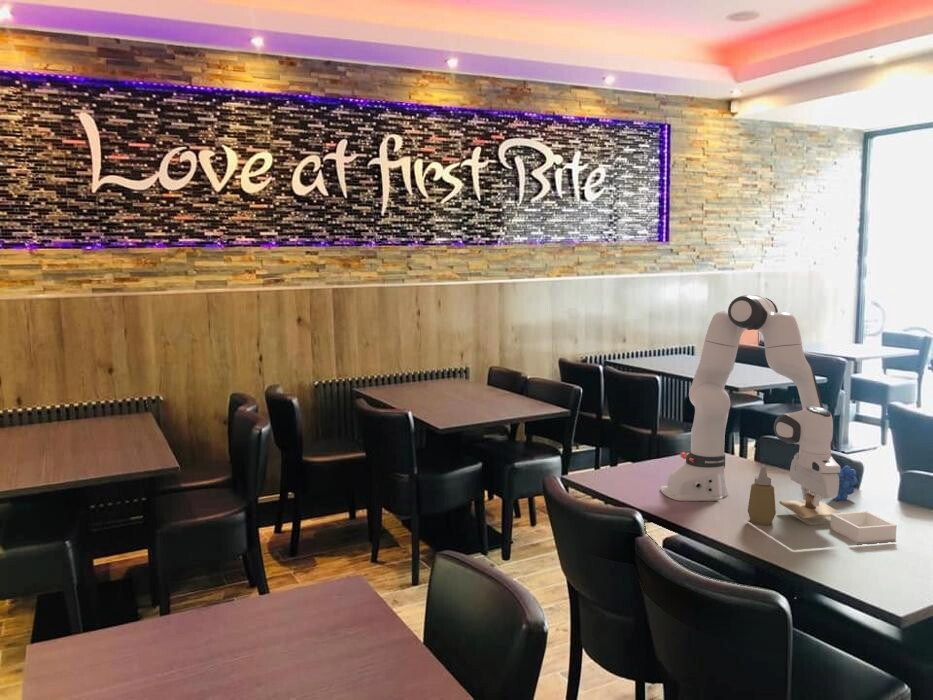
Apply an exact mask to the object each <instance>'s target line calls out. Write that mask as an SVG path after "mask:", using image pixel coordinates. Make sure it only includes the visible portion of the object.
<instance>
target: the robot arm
mask: <svg viewBox="0 0 933 700" xmlns="http://www.w3.org/2000/svg"><path fill="white" fill-rule="evenodd" d="M709 322H710V323H709V325H708V327H707V331H706V334H705V336H704V337H705V338H704V342H703V346H702V351H701V355H700V358H699V359H700V360H699V363H698V366H697V369H696V371H695V374H694V377H693V380H692V382H691V385H690V386H689V387H690V388H689V390H688V391H689V392H688V397H689V401H690V403H691V404H692V406H694V415H693V416H694V417H693V423H692V426H691V431H690V432H691V435H690V451H689V452H688V453H685V451H683V452H682V451H681V453H680V457H681V458H682V459H683V460H685V461H684V463H682V464H681V465H680V466H678V467H677V468H676V469H674V470H673V471H672V472H670V474H669V475H668V479H667V485H661V487H660V491H661V493H662V494H663V495H664V496H665V497H668V498H670V499H672V500H675V501H679V502H681V501H683V502H686V501H687V502H688V501H689V502H690V501H692V502H693V501H694V502H695V501H696V502H697V501H705V502H706V501H709V502H711V501H713V502H714V501H715V502H717V501H720V500H723V498H725V497H727V496H728V494H729V493H728V489H727V483H726V478H725V468H726V453H725V442H726V441H725V439H726V438H725V435H726V428H727V423H728V417H729V413H730V409H731V405H732V404H731V398H730V395H729V393H728V392H727V391H726V390H725V387H726V384H727V382H728V379H729V377H730V375H731V374H732V372H733V369H734V367H735V364H736V363H735V362H736V358H737V353H738V350H739V345H740V340H741V337H742V335H743V333H744V332H745V331H746V330H748V331H752V330H753V331H759V332H760V333H761V334H762V337H763V343H764V352H765V353H764V354H765V359H766V362H767V365H768V367H769V368H770V369H771V370H772V371H773V372H774V373H776V374H778V375H780V376H782V377H786V378H787V379H789V380H790V381H792V382H793V384H794V385H795V386H796V388H797V391H798V395H799V398H800V399H799V400H800V404H801V407H802V409H801V410H798V411H794V412H787V413H782V414H779V415H778V416H777V417H776V419H775V421H774V424H773V431H774V434H775V436H776V438H777V439H778V440H779V441H781V442H782V443H785V444H797V445H799V450H798V452H796V453H795V454H794V455H793V459H792V460H791V464H790V470H789V478H790V480H791V481H793V482H795V483H797V484H798V485H800V486H801V487H800V489H801V492H802V500H805V501H806V494H807V493H810V491H812V493H813V494H814V495H815V496H814V499H811V504H812V505H814V506H819V502H820V501H821V500H822V498H824V499H827V500H828V499H832V498H836V497H837V495H838V490H839V476H838V474H837V473H840V470H841V469H842V468H841V465H840V464H839V463H837V461H836V460H835V459H834V457H833V456H832V448H831V446H830V444H831V441H833V434H834V422H833V421H834V420H833V416H832V413H831V412H830V411H829V410H827V408H824V407H823V406H824V405H823V402H822V399H821V395H820V390H819V387H818V382H817V379H816V376H815V372H814V370H813V367H812V366H811V364H810V363H809V362H808V360H807V359H806V356H805V353H804V349H803V342H802V336H801V332H800V328H799V324H798V322H797V320H796V317H795V316H794V315H793V314H791V313H788V312H783V311H782V312H781V311H780V312H779V311H778V307H777V305H776V303H775V302H774V301H772V300H771V299H769V298H767V297H764V296H760V295H749V294H746V295H745V294H744V295H741V296H738V297H736V298H734V299H733V300H732V301H731V302H730V304H729V306H728V309H727V310H720V311H717V312H716V313H715V314H713V315H712V318H711V320H710V321H709ZM831 445H832V444H831Z"/></svg>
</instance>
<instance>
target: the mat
mask: <svg viewBox="0 0 933 700" xmlns="http://www.w3.org/2000/svg"><path fill="white" fill-rule="evenodd" d="M788 515H791V516H792V517H794V518H796V519H798V520H800V521H801V522H803V523H805V524H807V525H808V526H815V525H817V526H818V525H826V524H829V525H830V524H831V517H813V518H802V517H801V516H799V515H798V514H796V513H794V512H793V511H791V512H788Z"/></svg>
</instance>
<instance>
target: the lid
mask: <svg viewBox="0 0 933 700" xmlns="http://www.w3.org/2000/svg"><path fill="white" fill-rule="evenodd" d="M814 496H815V495H814V493H813V492H812V493H810V492H809V493H807V494H806V501H805V500H803V499H800V500H798V499H796V500H794V499H793V500H779V504H780V505H781V506H783V507H785V508H786V509H788V510H789V511H791V512H794V513H796V514H798V515H799V516H801V517H802V518H813V517H831V514H836V513H842V511H838V510H837V509H835V508H834V507H832V506H830V505H828V504H826V503H824V502H822V501H821V500H820V502H819V506H814V505H812V504H811V499H814Z"/></svg>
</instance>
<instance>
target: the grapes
mask: <svg viewBox="0 0 933 700" xmlns="http://www.w3.org/2000/svg"><path fill="white" fill-rule="evenodd" d="M837 474H838V476H839V490H838V495H837V497H836V498H831V499H832V500H833V501H839V500H840V501H841V500H842V501H846V500H847V499H848V497H849V496H850V495H852V494H853V493H854V492H855V488H854V486H856V485H857V484H858V482H859V481H858V478H857V477H856V476H857V471H856V469H855V468H851V467H850V466H849V465H844V466H843V467H842V468H841V470H840V473H837Z"/></svg>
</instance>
